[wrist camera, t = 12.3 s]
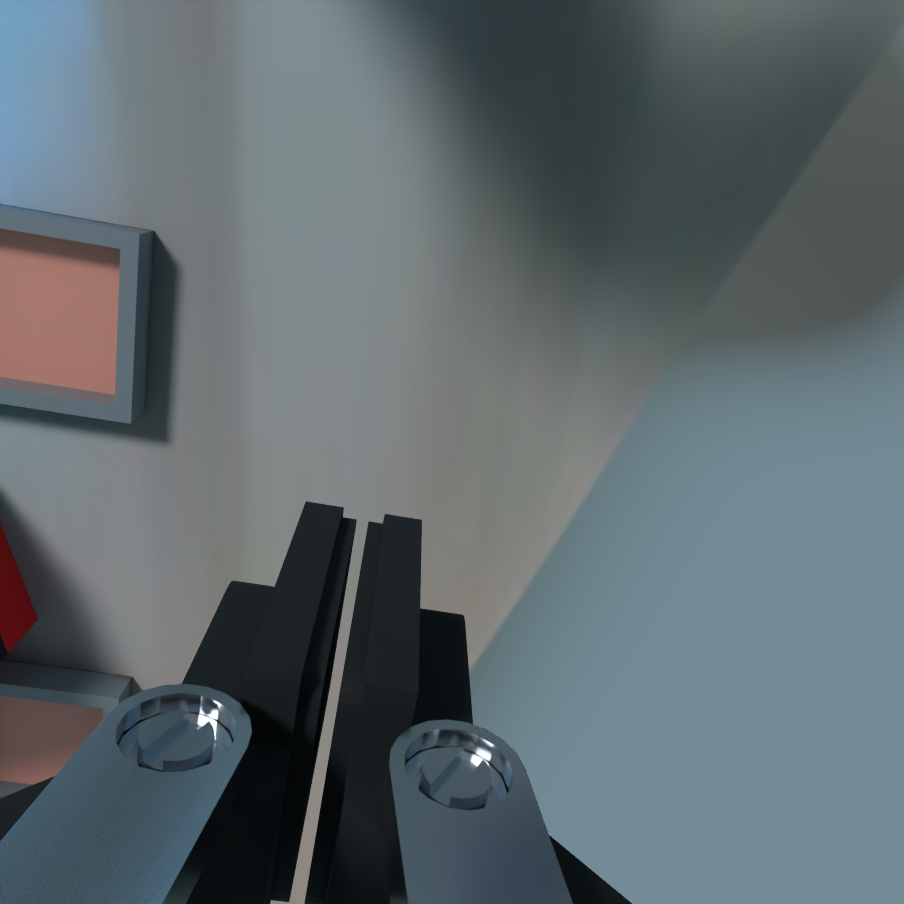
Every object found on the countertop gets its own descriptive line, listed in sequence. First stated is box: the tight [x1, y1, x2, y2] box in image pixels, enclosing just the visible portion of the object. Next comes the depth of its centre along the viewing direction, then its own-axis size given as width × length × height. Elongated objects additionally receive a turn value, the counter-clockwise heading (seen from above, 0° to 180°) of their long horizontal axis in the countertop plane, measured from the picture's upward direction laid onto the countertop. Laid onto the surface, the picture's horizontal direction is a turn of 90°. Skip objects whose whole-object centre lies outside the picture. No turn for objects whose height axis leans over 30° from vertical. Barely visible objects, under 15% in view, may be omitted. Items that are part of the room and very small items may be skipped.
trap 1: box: [0, 660, 132, 798], centre depth 45 cm, size 9×9×2 cm
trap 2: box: [0, 204, 154, 424], centre depth 37 cm, size 9×9×2 cm
